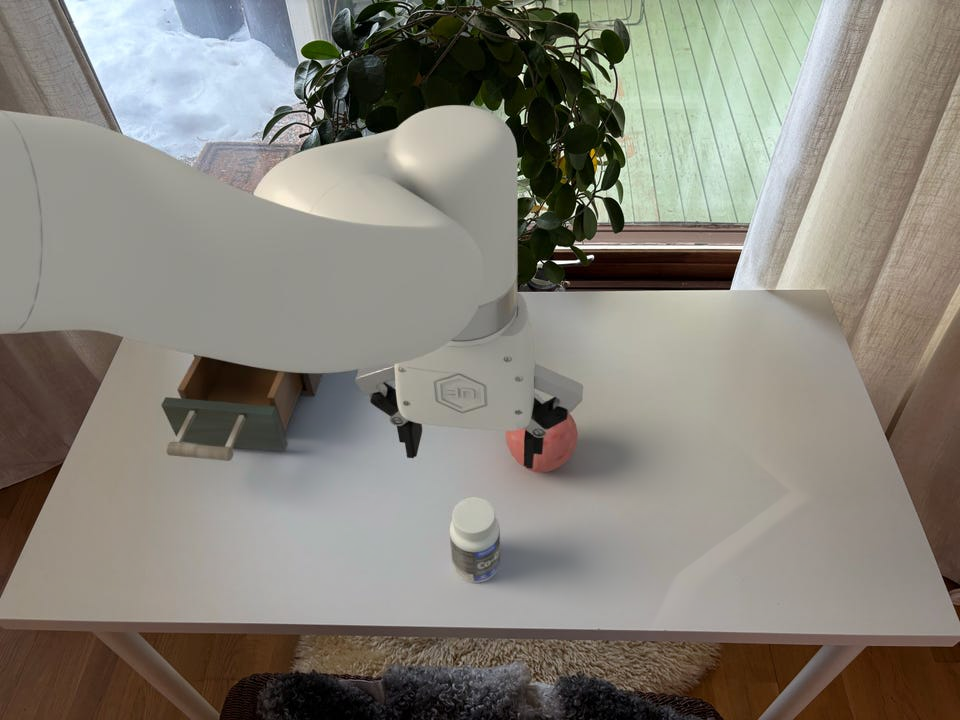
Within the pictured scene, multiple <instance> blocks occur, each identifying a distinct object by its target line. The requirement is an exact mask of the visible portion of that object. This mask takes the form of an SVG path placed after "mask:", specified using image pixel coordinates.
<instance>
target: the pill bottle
mask: <svg viewBox="0 0 960 720" xmlns="http://www.w3.org/2000/svg"><path fill="white" fill-rule="evenodd" d="M496 515H497V514H496V510H495V507H494V506H493V505H492V503H491V502H489V500H486V499H485V498H482V497H479V496H478V497H477V496H471V497H467V498H464V499H462V500H460V501H459V502H458V503H456V505H455V506H454V508H453V510H452V514H451V519H452V520H451V522H450V524H449V542H450V543H449V544H450V551H451V552H450V553H451V563H452V568H453V570H454V572H455V574H456V575H457V576H458V577H459V578H461V579H462V580H463V581H466V582H468V583H473V584H474V583H475V584H478V583H482V582H486V581H489V580H490V579H491V578H492V577H494V576H495V575H496V573H497V571H498V570H499V568H500V564H501V529H500V528H501V527H500V523H499V520H498V519H497V516H496Z"/></svg>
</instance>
